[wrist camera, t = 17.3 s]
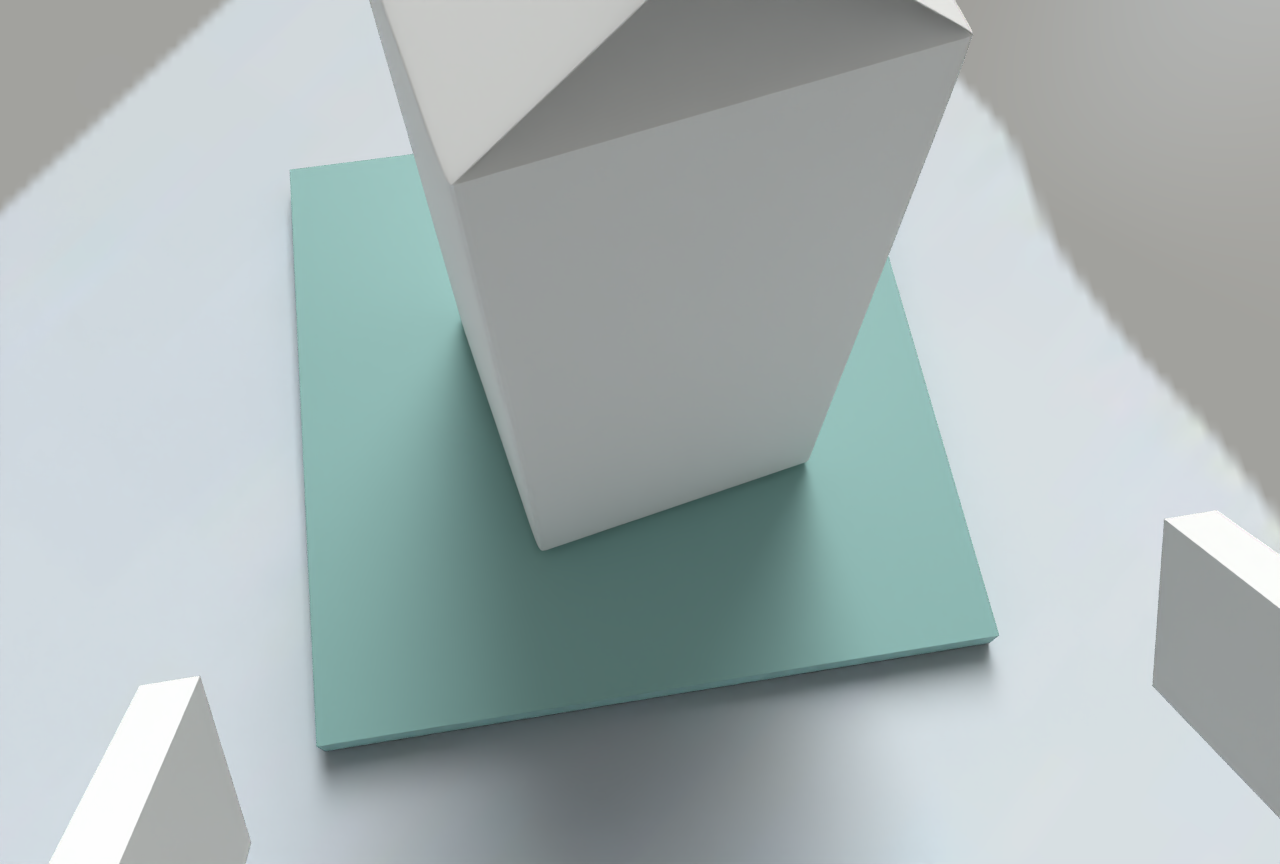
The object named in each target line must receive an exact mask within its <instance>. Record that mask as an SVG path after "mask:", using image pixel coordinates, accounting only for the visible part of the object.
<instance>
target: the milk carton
mask: <svg viewBox="0 0 1280 864" xmlns="http://www.w3.org/2000/svg"><path fill="white" fill-rule="evenodd" d="M369 1H370V4H371V8H372V11H373V15H374V18H375V22H376V25H377V29H378V32H379V36H380V39H381V43H382V46H383V50H384V53H385V57H386V60H387V64H388V67H389V71H390V74H391V78H392V81H393V85H394V88H395V92H396V95H397V99H398V102H399V106H400V109H401V113H402V116H403V119H404V123H405V126H406V130H407V133H408V137H409V140H410V144H411V147H412V151H413V154H414V158H415V161H416V165H417V168H418V172H419V175H420V179H421V182H422V186H423V189H424V193H425V196H426V200H427V203H428V207H429V210H430V214H431V217H432V221H433V224H434V228H435V231H436V235H437V238H438V242H439V245H440V249H441V252H442V255H443V259H444V262H445V266H446V269H447V273H448V276H449V280H450V283H451V287H452V290H453V294H454V297H455V301H456V304H457V308H458V311H459V315H460V318H461V321H462V325H463V328H464V331H465V334H466V337H467V340H468V343H469V346H470V349H471V352H472V355H473V358H474V361H475V364H476V367H477V370H478V373H479V376H480V379H481V382H482V385H483V388H484V391H485V394H486V397H487V399H488V402H489V405H490V408H491V411H492V414H493V417H494V420H495V423H496V426H497V429H498V432H499V435H500V438H501V441H502V444H503V447H504V450H505V453H506V456H507V459H508V462H509V465H510V468H511V471H512V474H513V477H514V480H515V483H516V485H517V488H518V491H519V494H520V497H521V500H522V503H523V506H524V509H525V512H526V515H527V518H528V521H529V524H530V527H531V530H532V532H533V535H534V538H535V540H536V543H537V545H538V547H539V549H540V550H542V551H544V550H548V549H551V548H554V547H557V546H560V545H563V544H566V543H569V542H572V541H575V540H578V539H581V538H584V537H587V536H590V535H593V534H596V533H599V532H601V531H604V530H607V529H610V528H613V527H616V526H619V525H622V524H625V523H628V522H631V521H634V520H637V519H640V518H643V517H646V516H649V515H652V514H655V513H658V512H660V511H663V510H666V509H669V508H672V507H675V506H678V505H681V504H684V503H687V502H690V501H693V500H696V499H699V498H702V497H705V496H708V495H711V494H714V493H717V492H719V491H722V490H725V489H728V488H731V487H734V486H737V485H740V484H743V483H746V482H749V481H752V480H755V479H758V478H761V477H764V476H767V475H770V474H772V473H775V472H778V471H781V470H784V469H787V468H790V467H793V466H796V465H799V464H802V463H805V462H807V461H808V460H809V458H810V455H811V453H812V450H813V448H814V445H815V442H816V440H817V437H818V435H819V432H820V430H821V427H822V424H823V422H824V419H825V417H826V414H827V412H828V409H829V407H830V404H831V401H832V399H833V396H834V394H835V391H836V389H837V386H838V383H839V381H840V378H841V376H842V373H843V371H844V368H845V365H846V363H847V360H848V358H849V355H850V353H851V350H852V347H853V345H854V342H855V340H856V337H857V335H858V332H859V329H860V327H861V324H862V322H863V319H864V317H865V314H866V312H867V309H868V306H869V304H870V301H871V299H872V296H873V294H874V291H875V288H876V286H877V283H878V281H879V278H880V276H881V273H882V270H883V268H884V265H885V263H886V260H887V258H888V255H889V252H890V250H891V247H892V245H893V242H894V240H895V237H896V235H897V232H898V229H899V227H900V224H901V222H902V219H903V217H904V214H905V211H906V209H907V206H908V204H909V201H910V199H911V196H912V193H913V191H914V188H915V186H916V183H917V181H918V178H919V175H920V173H921V170H922V168H923V165H924V163H925V160H926V157H927V155H928V152H929V150H930V147H931V145H932V142H933V140H934V137H935V134H936V132H937V129H938V127H939V124H940V122H941V119H942V116H943V114H944V111H945V109H946V106H947V104H948V101H949V98H950V96H951V93H952V91H953V88H954V85H955V83H956V80H957V77H958V75H959V72H960V69H961V67H962V64H963V61H964V59H965V56H966V53H967V50H968V47H969V44H970V41H971V38H972V35H973V33H972V30H971V28H970V26H969V24H968V23H967V21H966V19H965V17H964V15H963V13H962V12H961V10H960V8H959V7H958V5H957V3H956V2H955V0H369Z"/></svg>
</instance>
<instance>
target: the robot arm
mask: <svg viewBox="0 0 1280 864" xmlns="http://www.w3.org/2000/svg"><path fill="white" fill-rule="evenodd" d="M1152 686H1153V687H1154V688H1155V689H1156V690H1157V691H1158V692H1159V693H1160V694H1161V695H1162V696H1163V697H1164V698H1165V699H1166V701H1167V702H1168V703H1169V704H1170V705H1171V706H1172V707H1173V708H1174V709H1175V710H1176V711H1177V712H1178V713H1179V714H1180V715H1181V716H1182V717H1183V718H1184V719H1185V720H1186V721H1187V722H1188V723H1189V724H1190V726H1191V727H1192V728H1193V729H1194V730H1195V731H1196V732H1197V733H1198V734H1199V735H1200V736H1201V737H1202V738H1203V739H1204V740H1205V741H1206V742H1207V743H1208V744H1209V745H1210V746H1211V747H1212V748H1213V749H1214V751H1215V752H1216V753H1217V754H1218V755H1219V756H1220V757H1221V758H1222V759H1223V760H1224V761H1225V762H1226V763H1227V764H1228V765H1229V766H1230V767H1231V768H1232V769H1233V770H1234V771H1235V772H1236V773H1237V774H1238V775H1239V777H1240V778H1241V779H1242V780H1243V781H1244V782H1245V783H1246V784H1247V785H1248V786H1249V787H1250V788H1251V789H1252V790H1253V791H1254V792H1255V793H1256V794H1257V795H1258V796H1259V797H1260V798H1261V799H1262V800H1263V802H1264V803H1265V804H1266V805H1267V806H1268V807H1269V808H1270V809H1271V810H1272V811H1273V812H1274V813H1275V814H1276V815H1277V816H1278V817H1279V818H1280V555H1279V554H1278V553H1276V552H1275V551H1274V550H1272V549H1271V548H1269V547H1268V546H1267V545H1265V544H1264V543H1262V542H1261V541H1259V540H1258V539H1257V538H1255V537H1254V536H1252V535H1251V534H1250V533H1248V532H1247V531H1245V530H1244V529H1242V528H1241V527H1240V526H1238V525H1237V524H1235V523H1234V522H1233V521H1231V520H1230V519H1228V518H1227V517H1226V516H1224V515H1223V514H1221V513H1220V512H1218V511H1217V510H1216V511H1210V512H1203V513H1197V514H1191V515H1185V516H1179V517H1173V518H1167V519H1164V528H1163V543H1162V557H1161V571H1160V585H1159V600H1158V614H1157V628H1156V642H1155V656H1154V671H1153V685H1152ZM250 846H251V840H250V837H249V833H248V830H247V827H246V824H245V820H244V817H243V814H242V811H241V807H240V804H239V801H238V798H237V794H236V791H235V788H234V785H233V781H232V778H231V775H230V772H229V768H228V765H227V762H226V759H225V755H224V752H223V749H222V746H221V742H220V739H219V736H218V733H217V729H216V726H215V723H214V720H213V717H212V713H211V710H210V707H209V704H208V700H207V697H206V694H205V691H204V687H203V684H202V681H201V678H200V676H196V677H190V678H183V679H177V680H171V681H165V682H159V683H153V684H147V685H140V686H139V688H138V690H137V692H136V694H135V696H134V698H133V700H132V702H131V704H130V706H129V708H128V710H127V712H126V713H125V715H124V717H123V719H122V721H121V723H120V725H119V727H118V729H117V731H116V733H115V735H114V737H113V739H112V741H111V743H110V745H109V747H108V749H107V751H106V753H105V754H104V756H103V758H102V760H101V762H100V764H99V766H98V768H97V770H96V772H95V774H94V776H93V778H92V780H91V782H90V784H89V786H88V788H87V790H86V792H85V794H84V795H83V797H82V799H81V801H80V803H79V805H78V807H77V809H76V811H75V813H74V815H73V817H72V819H71V821H70V823H69V825H68V827H67V829H66V831H65V833H64V835H63V837H62V838H61V840H60V842H59V844H58V846H57V848H56V850H55V852H54V854H53V856H52V858H51V860H50V862H49V864H245V863H246V860H247V856H248V853H249V849H250Z"/></svg>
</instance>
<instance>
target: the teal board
mask: <svg viewBox="0 0 1280 864" xmlns="http://www.w3.org/2000/svg"><path fill="white" fill-rule="evenodd" d="M290 185H291V207H292V228H293V250H294V271H295V293H296V314H297V336H298V357H299V379H300V400H301V422H302V443H303V465H304V487H305V508H306V530H307V551H308V573H309V594H310V616H311V637H312V659H313V680H314V702H315V723H316V745H317V747H318V748H320V749H322V750H324V751H330V750H336V749H342V748H348V747H355V746H361V745H367V744H373V743H379V742H385V741H391V740H397V739H404V738H410V737H416V736H422V735H428V734H434V733H440V732H446V731H453V730H459V729H465V728H471V727H477V726H483V725H489V724H496V723H502V722H508V721H514V720H520V719H526V718H532V717H538V716H545V715H551V714H557V713H563V712H569V711H575V710H581V709H587V708H594V707H600V706H606V705H612V704H618V703H624V702H630V701H636V700H643V699H649V698H655V697H661V696H667V695H673V694H679V693H686V692H692V691H698V690H704V689H710V688H716V687H722V686H728V685H735V684H741V683H747V682H753V681H759V680H765V679H771V678H777V677H784V676H790V675H796V674H802V673H808V672H814V671H820V670H826V669H833V668H839V667H845V666H851V665H857V664H863V663H869V662H876V661H882V660H888V659H894V658H900V657H906V656H912V655H918V654H925V653H931V652H937V651H943V650H949V649H955V648H961V647H967V646H974V645H980V644H986V643H990V642H991V641H992V640H994V639H995V638H996V637H998V636H999V633H998V630H997V626H996V623H995V620H994V616H993V613H992V609H991V606H990V602H989V599H988V596H987V592H986V589H985V585H984V582H983V578H982V575H981V572H980V568H979V565H978V561H977V558H976V554H975V551H974V548H973V544H972V541H971V537H970V534H969V531H968V527H967V524H966V520H965V517H964V513H963V510H962V507H961V503H960V500H959V496H958V493H957V489H956V486H955V483H954V479H953V476H952V472H951V469H950V465H949V462H948V459H947V455H946V452H945V448H944V445H943V442H942V438H941V435H940V431H939V428H938V424H937V421H936V418H935V414H934V411H933V407H932V404H931V400H930V397H929V394H928V390H927V387H926V383H925V380H924V376H923V373H922V370H921V366H920V363H919V359H918V356H917V353H916V349H915V346H914V342H913V339H912V335H911V332H910V329H909V325H908V322H907V318H906V315H905V311H904V308H903V305H902V301H901V298H900V294H899V291H898V287H897V284H896V281H895V277H894V274H893V270H892V267H891V264H890V260H889V257H888V258H887V260H886V263H885V265H884V268H883V270H882V273H881V276H880V278H879V281H878V283H877V286H876V288H875V291H874V294H873V296H872V299H871V301H870V304H869V306H868V309H867V312H866V314H865V317H864V319H863V322H862V324H861V327H860V329H859V332H858V335H857V337H856V340H855V342H854V345H853V347H852V350H851V353H850V355H849V358H848V360H847V363H846V365H845V368H844V371H843V373H842V376H841V378H840V381H839V383H838V386H837V389H836V391H835V394H834V396H833V399H832V401H831V404H830V407H829V409H828V412H827V414H826V417H825V419H824V422H823V424H822V427H821V430H820V432H819V435H818V437H817V440H816V442H815V445H814V448H813V450H812V453H811V455H810V458H809V460H808V461H807V462H805V463H802V464H799V465H796V466H793V467H790V468H787V469H784V470H781V471H778V472H775V473H772V474H770V475H767V476H764V477H761V478H758V479H755V480H752V481H749V482H746V483H743V484H740V485H737V486H734V487H731V488H728V489H725V490H722V491H719V492H717V493H714V494H711V495H708V496H705V497H702V498H699V499H696V500H693V501H690V502H687V503H684V504H681V505H678V506H675V507H672V508H669V509H666V510H663V511H660V512H658V513H655V514H652V515H649V516H646V517H643V518H640V519H637V520H634V521H631V522H628V523H625V524H622V525H619V526H616V527H613V528H610V529H607V530H604V531H601V532H599V533H596V534H593V535H590V536H587V537H584V538H581V539H578V540H575V541H572V542H569V543H566V544H563V545H560V546H557V547H554V548H551V549H548V550H544V551H542V550H540V549H539V547H538V545H537V543H536V540H535V538H534V535H533V532H532V530H531V527H530V524H529V521H528V518H527V515H526V512H525V509H524V506H523V503H522V500H521V497H520V494H519V491H518V488H517V485H516V483H515V480H514V477H513V474H512V471H511V468H510V465H509V462H508V459H507V456H506V453H505V450H504V447H503V444H502V441H501V438H500V435H499V432H498V429H497V426H496V423H495V420H494V417H493V414H492V411H491V408H490V405H489V402H488V399H487V397H486V394H485V391H484V388H483V385H482V382H481V379H480V376H479V373H478V370H477V367H476V364H475V361H474V358H473V355H472V352H471V349H470V346H469V343H468V340H467V337H466V334H465V331H464V328H463V325H462V321H461V318H460V315H459V311H458V308H457V304H456V301H455V297H454V294H453V290H452V287H451V283H450V280H449V276H448V273H447V269H446V266H445V262H444V259H443V255H442V252H441V249H440V245H439V242H438V238H437V235H436V231H435V228H434V224H433V221H432V217H431V214H430V210H429V207H428V203H427V200H426V196H425V193H424V189H423V186H422V182H421V179H420V175H419V172H418V168H417V165H416V161H415V158H414V154H410V155H402V156H395V157H387V158H379V159H371V160H363V161H355V162H347V163H339V164H331V165H324V166H316V167H308V168H300V169H292V170H290Z"/></svg>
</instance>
